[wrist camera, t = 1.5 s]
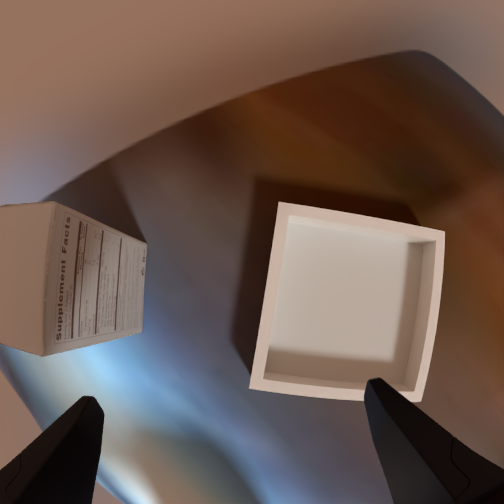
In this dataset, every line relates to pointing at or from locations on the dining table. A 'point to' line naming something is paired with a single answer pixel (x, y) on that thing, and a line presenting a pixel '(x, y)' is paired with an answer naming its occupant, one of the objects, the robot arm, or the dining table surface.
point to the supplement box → (66, 279)
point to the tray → (347, 305)
